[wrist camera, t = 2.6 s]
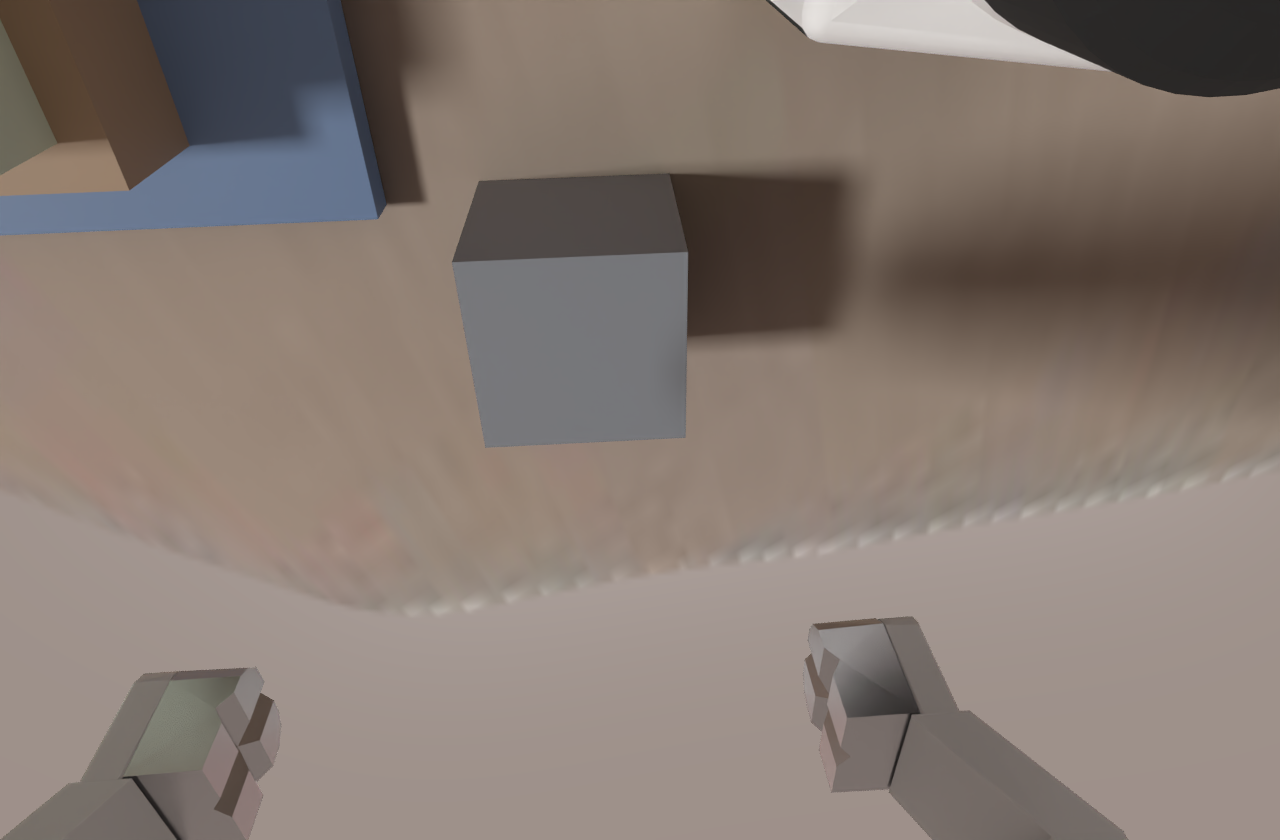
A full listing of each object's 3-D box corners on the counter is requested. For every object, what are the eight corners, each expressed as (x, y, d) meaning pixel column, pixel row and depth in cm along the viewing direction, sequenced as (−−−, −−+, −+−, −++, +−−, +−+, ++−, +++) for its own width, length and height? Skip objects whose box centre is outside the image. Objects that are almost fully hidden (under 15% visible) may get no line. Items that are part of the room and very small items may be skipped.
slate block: (669, 172, 21) (688, 252, 17) (669, 336, 24) (685, 437, 20) (479, 180, 20) (451, 262, 16) (503, 344, 23) (485, 447, 19)
